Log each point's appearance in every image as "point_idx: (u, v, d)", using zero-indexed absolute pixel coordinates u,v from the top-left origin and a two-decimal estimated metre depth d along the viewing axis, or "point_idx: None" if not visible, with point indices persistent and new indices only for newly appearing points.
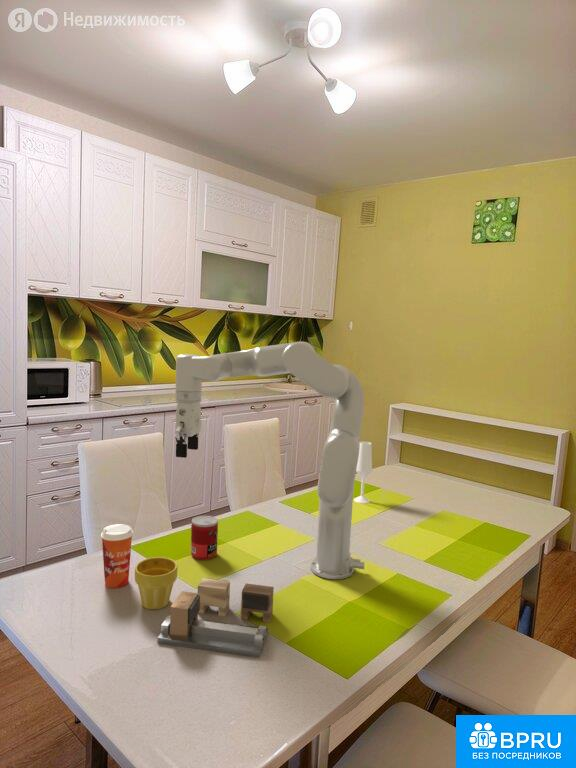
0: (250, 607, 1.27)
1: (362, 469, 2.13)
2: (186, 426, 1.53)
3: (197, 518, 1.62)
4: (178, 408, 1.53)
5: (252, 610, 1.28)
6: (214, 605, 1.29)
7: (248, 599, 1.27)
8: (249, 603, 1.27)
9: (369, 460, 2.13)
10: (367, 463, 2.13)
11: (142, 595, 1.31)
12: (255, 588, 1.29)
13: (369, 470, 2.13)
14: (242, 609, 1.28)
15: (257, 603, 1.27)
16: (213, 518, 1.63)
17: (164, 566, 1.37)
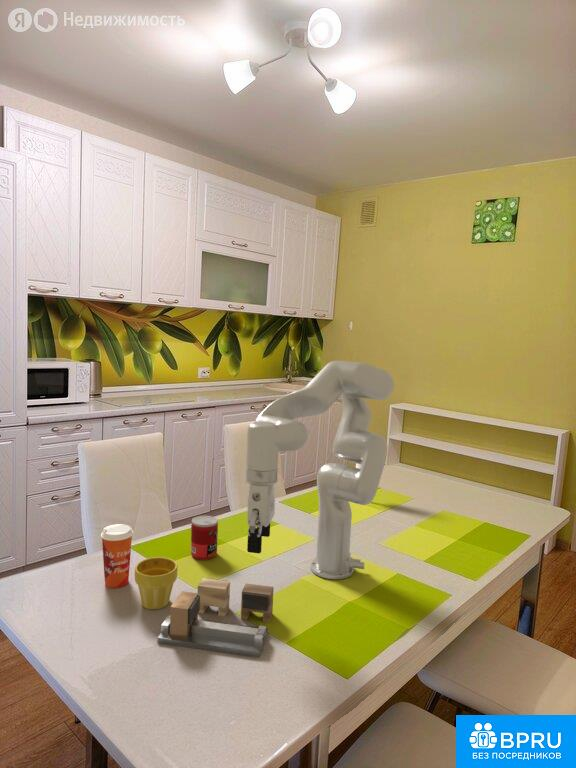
0: (250, 607, 1.27)
1: None
2: (261, 515, 1.22)
3: (197, 518, 1.62)
4: (251, 492, 1.22)
5: (252, 610, 1.28)
6: (214, 605, 1.29)
7: (248, 599, 1.27)
8: (249, 603, 1.27)
9: None
10: None
11: (142, 595, 1.31)
12: (255, 588, 1.29)
13: None
14: (242, 609, 1.28)
15: (257, 603, 1.27)
16: (213, 518, 1.63)
17: (164, 566, 1.37)
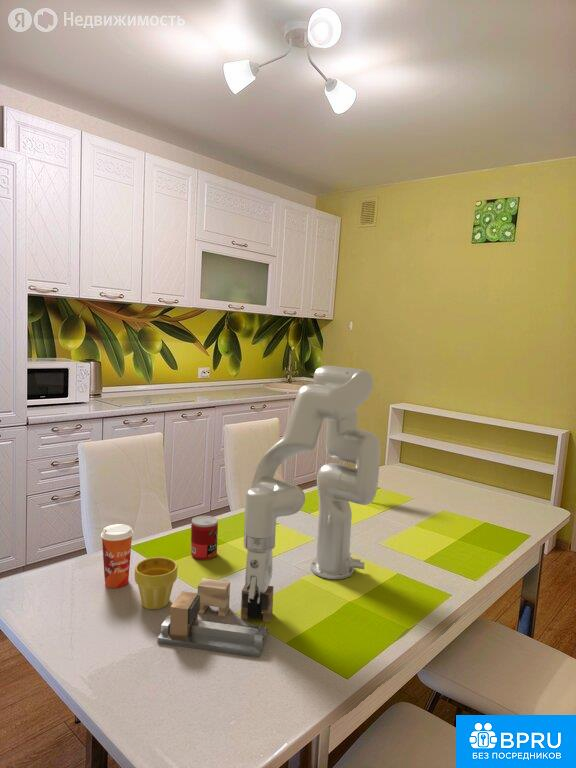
0: None
1: None
2: (259, 581, 1.23)
3: (197, 518, 1.62)
4: (249, 559, 1.24)
5: None
6: (214, 605, 1.29)
7: None
8: None
9: None
10: None
11: (142, 595, 1.31)
12: None
13: None
14: (242, 609, 1.29)
15: None
16: (213, 518, 1.63)
17: (164, 566, 1.37)
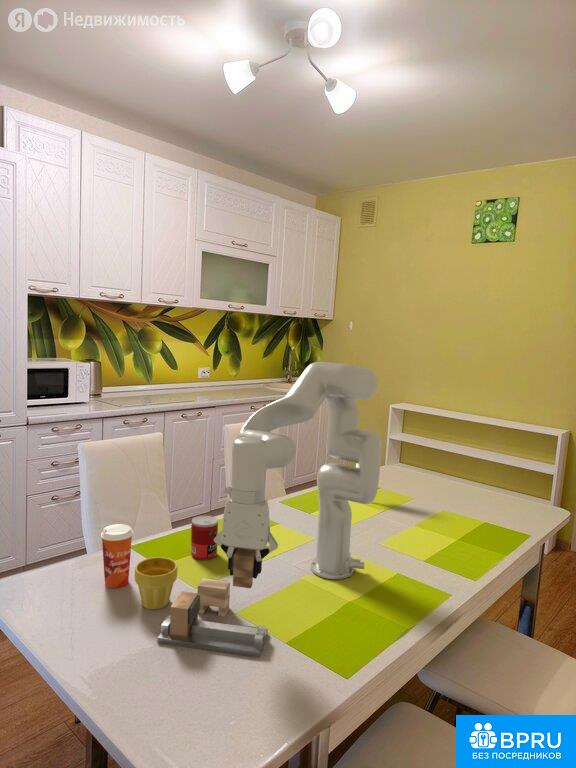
0: None
1: None
2: None
3: (197, 518, 1.62)
4: None
5: None
6: (214, 605, 1.29)
7: None
8: None
9: None
10: None
11: (142, 595, 1.31)
12: None
13: None
14: None
15: None
16: (213, 518, 1.63)
17: (164, 566, 1.37)
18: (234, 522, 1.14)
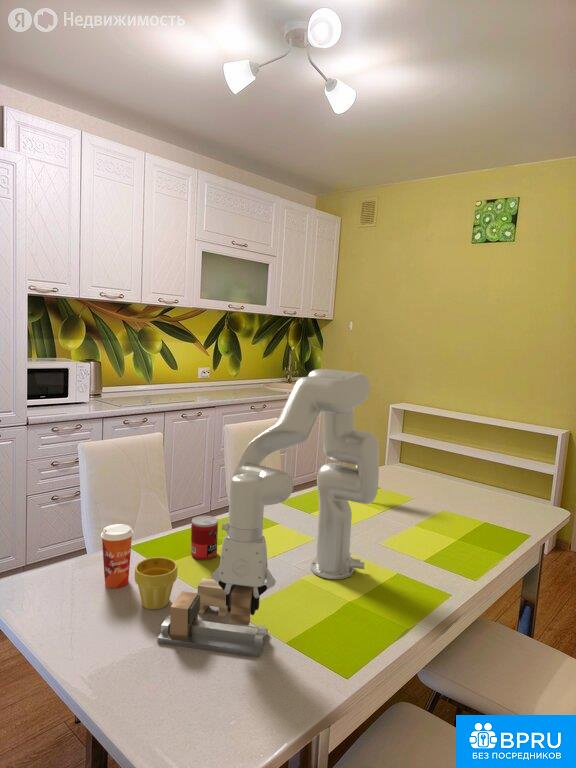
0: None
1: None
2: (219, 566, 1.16)
3: (197, 518, 1.62)
4: None
5: None
6: (214, 605, 1.29)
7: None
8: None
9: None
10: None
11: (142, 595, 1.31)
12: None
13: None
14: None
15: None
16: (213, 518, 1.63)
17: (164, 566, 1.37)
18: (232, 559, 1.14)
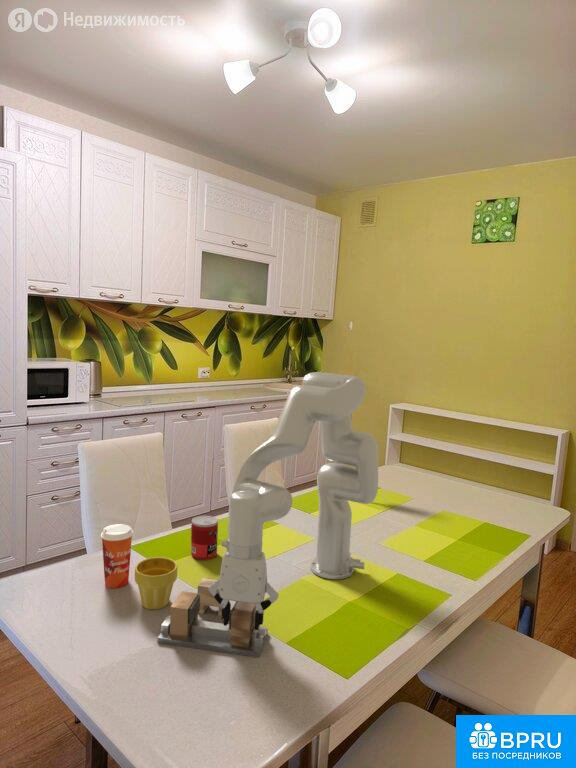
0: None
1: None
2: None
3: (197, 518, 1.62)
4: None
5: None
6: (214, 605, 1.29)
7: None
8: None
9: None
10: None
11: (142, 595, 1.31)
12: (244, 606, 1.19)
13: None
14: None
15: None
16: (213, 518, 1.63)
17: (164, 566, 1.37)
18: (231, 576, 1.15)
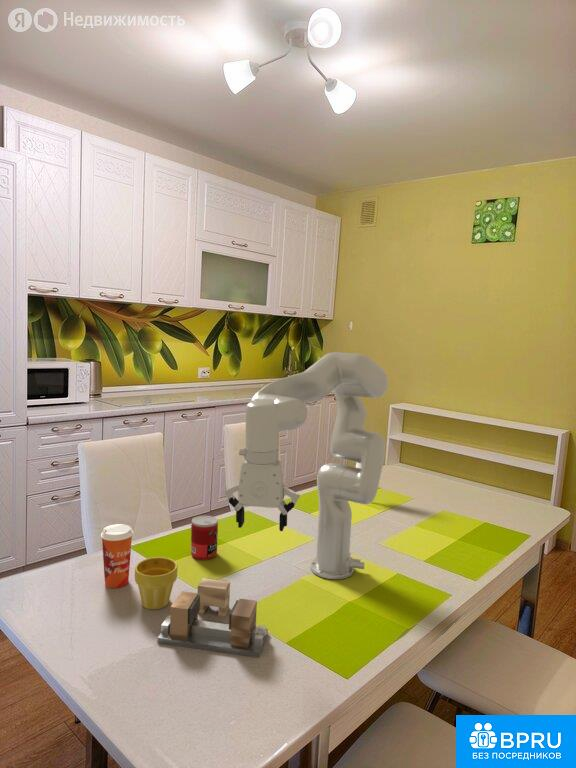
0: None
1: None
2: None
3: (197, 518, 1.62)
4: None
5: None
6: (214, 605, 1.29)
7: None
8: None
9: None
10: None
11: (142, 595, 1.31)
12: (244, 606, 1.19)
13: None
14: None
15: None
16: (213, 518, 1.63)
17: (164, 566, 1.37)
18: (250, 482, 1.19)
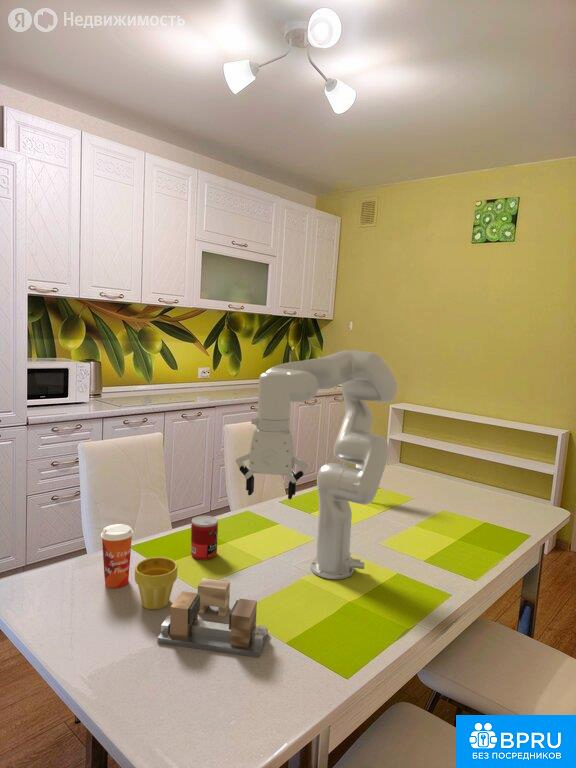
0: None
1: None
2: (249, 457, 1.25)
3: (197, 518, 1.62)
4: None
5: None
6: (214, 605, 1.29)
7: None
8: None
9: None
10: None
11: (142, 595, 1.31)
12: (244, 606, 1.19)
13: None
14: None
15: None
16: (213, 518, 1.63)
17: (164, 566, 1.37)
18: (261, 450, 1.23)
